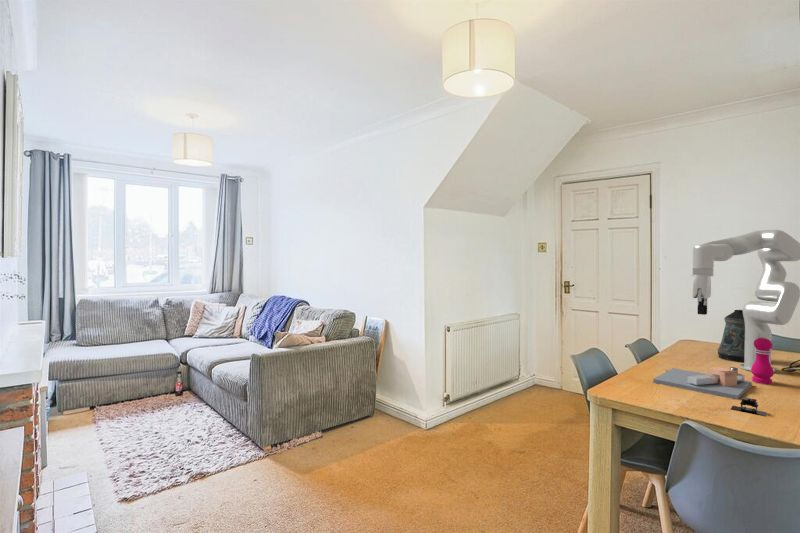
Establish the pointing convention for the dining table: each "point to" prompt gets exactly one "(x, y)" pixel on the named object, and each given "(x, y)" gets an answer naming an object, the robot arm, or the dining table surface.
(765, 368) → the pepper mill
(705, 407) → the dining table surface
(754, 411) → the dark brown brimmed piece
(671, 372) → the slate board
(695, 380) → the steel link
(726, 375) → the block
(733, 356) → the beer stein
